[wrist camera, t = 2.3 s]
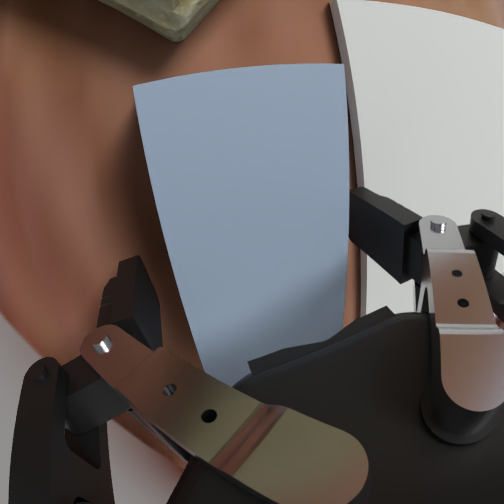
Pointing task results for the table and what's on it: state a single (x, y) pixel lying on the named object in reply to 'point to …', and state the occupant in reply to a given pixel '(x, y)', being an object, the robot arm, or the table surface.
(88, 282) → the table surface
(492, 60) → the mat
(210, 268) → the block
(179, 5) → the decorative tile
